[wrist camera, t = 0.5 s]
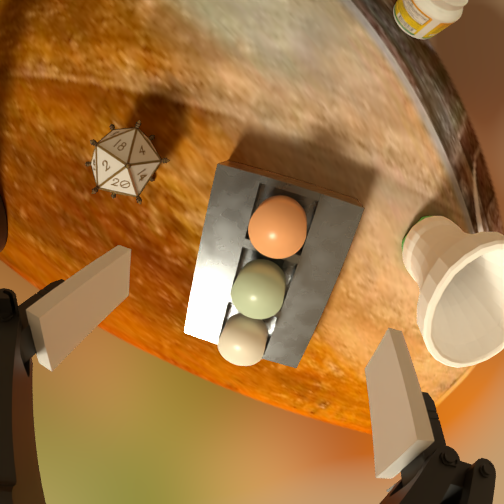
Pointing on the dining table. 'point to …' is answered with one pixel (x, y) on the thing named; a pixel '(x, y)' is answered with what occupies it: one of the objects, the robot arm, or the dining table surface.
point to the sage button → (259, 289)
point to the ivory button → (243, 340)
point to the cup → (457, 290)
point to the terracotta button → (278, 227)
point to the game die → (124, 161)
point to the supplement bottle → (427, 16)
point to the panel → (294, 267)
